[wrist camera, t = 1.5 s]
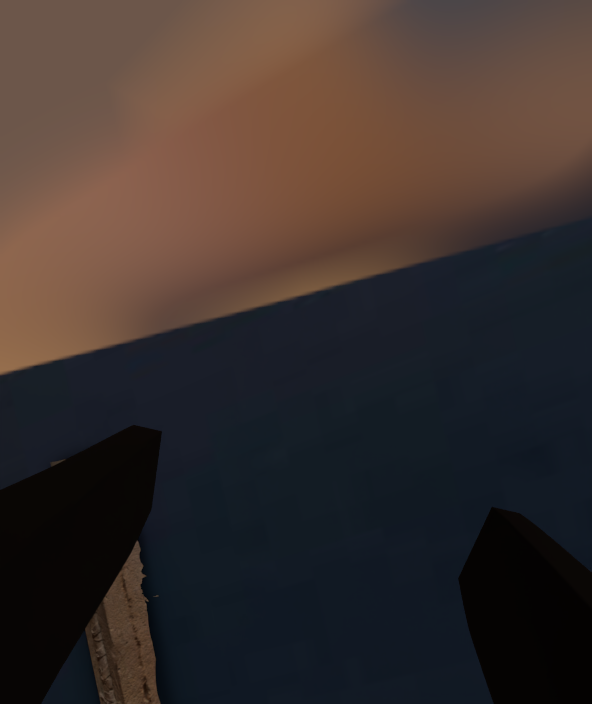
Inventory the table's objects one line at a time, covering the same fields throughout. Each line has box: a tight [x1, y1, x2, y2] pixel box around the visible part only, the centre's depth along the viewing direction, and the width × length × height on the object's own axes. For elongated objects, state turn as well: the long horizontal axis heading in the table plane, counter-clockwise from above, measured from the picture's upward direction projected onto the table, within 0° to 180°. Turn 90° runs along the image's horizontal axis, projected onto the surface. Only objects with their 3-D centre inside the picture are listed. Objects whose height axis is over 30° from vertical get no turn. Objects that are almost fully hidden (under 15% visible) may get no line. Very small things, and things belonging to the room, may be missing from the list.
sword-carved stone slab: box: [51, 459, 160, 704], centre depth 26 cm, size 18×3×4 cm
